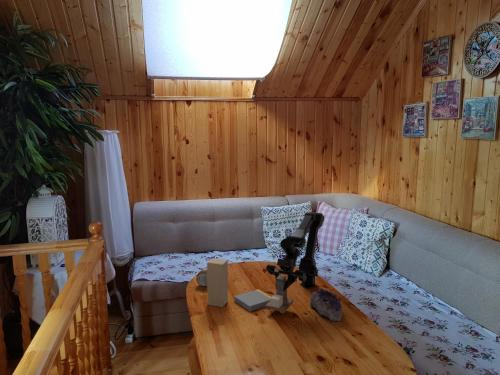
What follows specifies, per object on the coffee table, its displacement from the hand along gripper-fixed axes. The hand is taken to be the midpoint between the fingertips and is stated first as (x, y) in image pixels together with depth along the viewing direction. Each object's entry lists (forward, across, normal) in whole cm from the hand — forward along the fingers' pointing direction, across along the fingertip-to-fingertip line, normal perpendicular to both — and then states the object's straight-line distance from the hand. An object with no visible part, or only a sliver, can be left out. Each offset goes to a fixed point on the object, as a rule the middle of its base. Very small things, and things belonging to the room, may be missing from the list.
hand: (280, 289), depth 184 cm
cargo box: (+6, 0, +2) cm, 7 cm away
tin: (+2, -44, +13) cm, 46 cm away
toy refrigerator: (+12, -29, +2) cm, 32 cm away
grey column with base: (+6, 0, +5) cm, 8 cm away
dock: (+6, -15, +9) cm, 18 cm away
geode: (0, +19, +15) cm, 25 cm away
